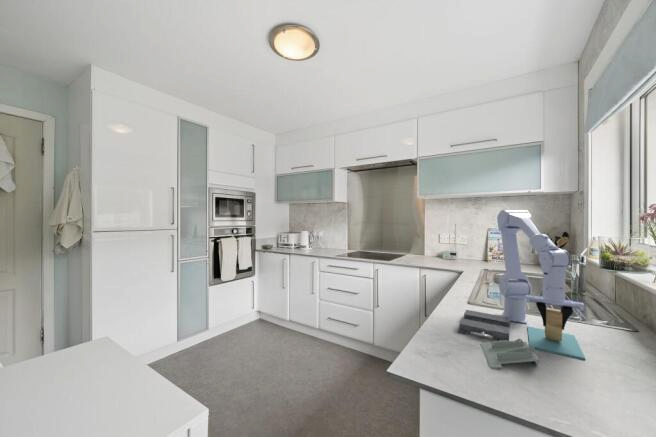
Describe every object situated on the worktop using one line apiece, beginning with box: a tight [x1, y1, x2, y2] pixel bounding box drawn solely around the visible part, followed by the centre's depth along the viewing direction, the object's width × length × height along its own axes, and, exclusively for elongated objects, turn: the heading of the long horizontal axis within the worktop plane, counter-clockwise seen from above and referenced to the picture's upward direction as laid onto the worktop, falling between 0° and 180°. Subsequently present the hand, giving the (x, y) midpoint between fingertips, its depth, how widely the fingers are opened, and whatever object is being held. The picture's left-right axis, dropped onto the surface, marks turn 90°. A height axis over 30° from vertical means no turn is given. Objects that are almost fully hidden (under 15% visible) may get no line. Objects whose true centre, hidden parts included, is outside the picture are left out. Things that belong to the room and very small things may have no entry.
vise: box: [458, 309, 511, 341], centre depth 101 cm, size 22×15×3 cm
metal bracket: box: [479, 338, 540, 370], centre depth 80 cm, size 14×6×15 cm
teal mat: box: [527, 326, 586, 361], centre depth 90 cm, size 18×13×1 cm
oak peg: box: [544, 307, 563, 341], centre depth 90 cm, size 4×4×9 cm
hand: (553, 327), depth 90 cm, fingers closed on oak peg, 4 cm apart
